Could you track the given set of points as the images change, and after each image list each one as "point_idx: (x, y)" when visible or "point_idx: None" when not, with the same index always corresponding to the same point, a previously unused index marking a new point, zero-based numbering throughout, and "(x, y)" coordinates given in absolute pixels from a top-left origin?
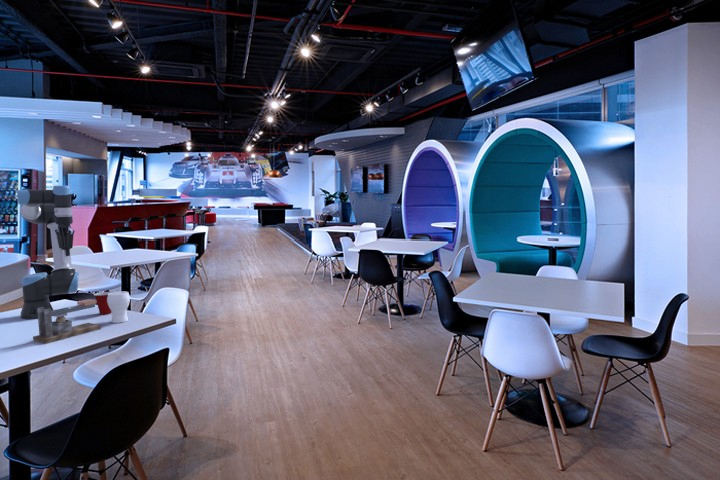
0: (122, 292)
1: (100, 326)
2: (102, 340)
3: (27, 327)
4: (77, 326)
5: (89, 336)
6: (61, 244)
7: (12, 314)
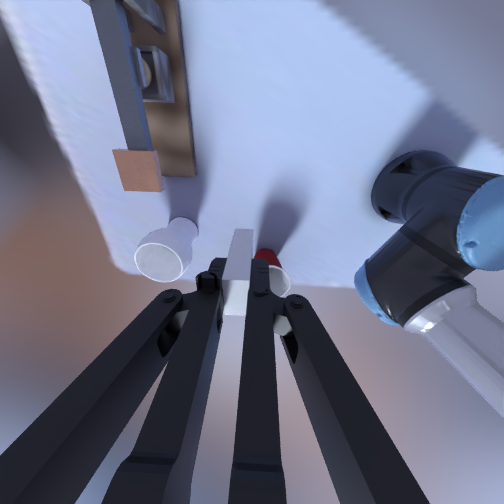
0: (174, 278)
1: None
2: (48, 109)
3: (330, 96)
4: (179, 141)
5: (107, 118)
6: (260, 324)
7: (491, 167)
